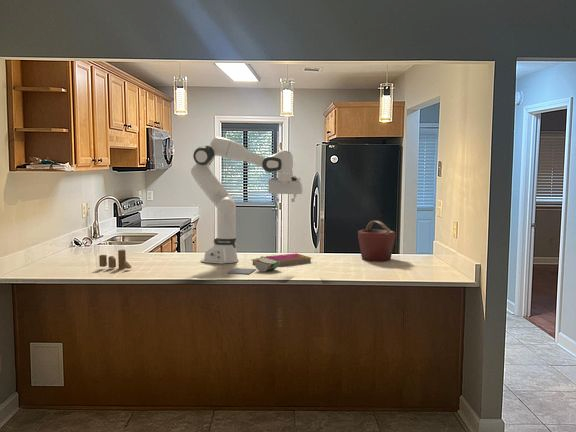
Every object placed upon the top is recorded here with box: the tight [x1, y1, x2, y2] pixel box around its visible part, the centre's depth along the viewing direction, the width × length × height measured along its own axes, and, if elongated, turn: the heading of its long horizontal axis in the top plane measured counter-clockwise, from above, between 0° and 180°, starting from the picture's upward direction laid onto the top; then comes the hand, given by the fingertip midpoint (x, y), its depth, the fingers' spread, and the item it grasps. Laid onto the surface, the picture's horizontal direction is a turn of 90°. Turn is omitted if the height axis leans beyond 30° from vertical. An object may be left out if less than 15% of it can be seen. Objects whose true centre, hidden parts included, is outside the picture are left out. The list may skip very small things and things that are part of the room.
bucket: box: [357, 220, 396, 263], centre depth 339 cm, size 24×22×25 cm
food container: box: [254, 255, 280, 273], centre depth 304 cm, size 12×6×10 cm
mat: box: [227, 267, 257, 276], centre depth 300 cm, size 12×14×1 cm
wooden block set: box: [98, 249, 132, 270], centre depth 304 cm, size 18×9×10 cm, turn 84°
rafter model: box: [251, 252, 312, 268], centre depth 326 cm, size 35×14×6 cm, turn 126°
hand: (285, 201), depth 326 cm, fingers open, 8 cm apart
